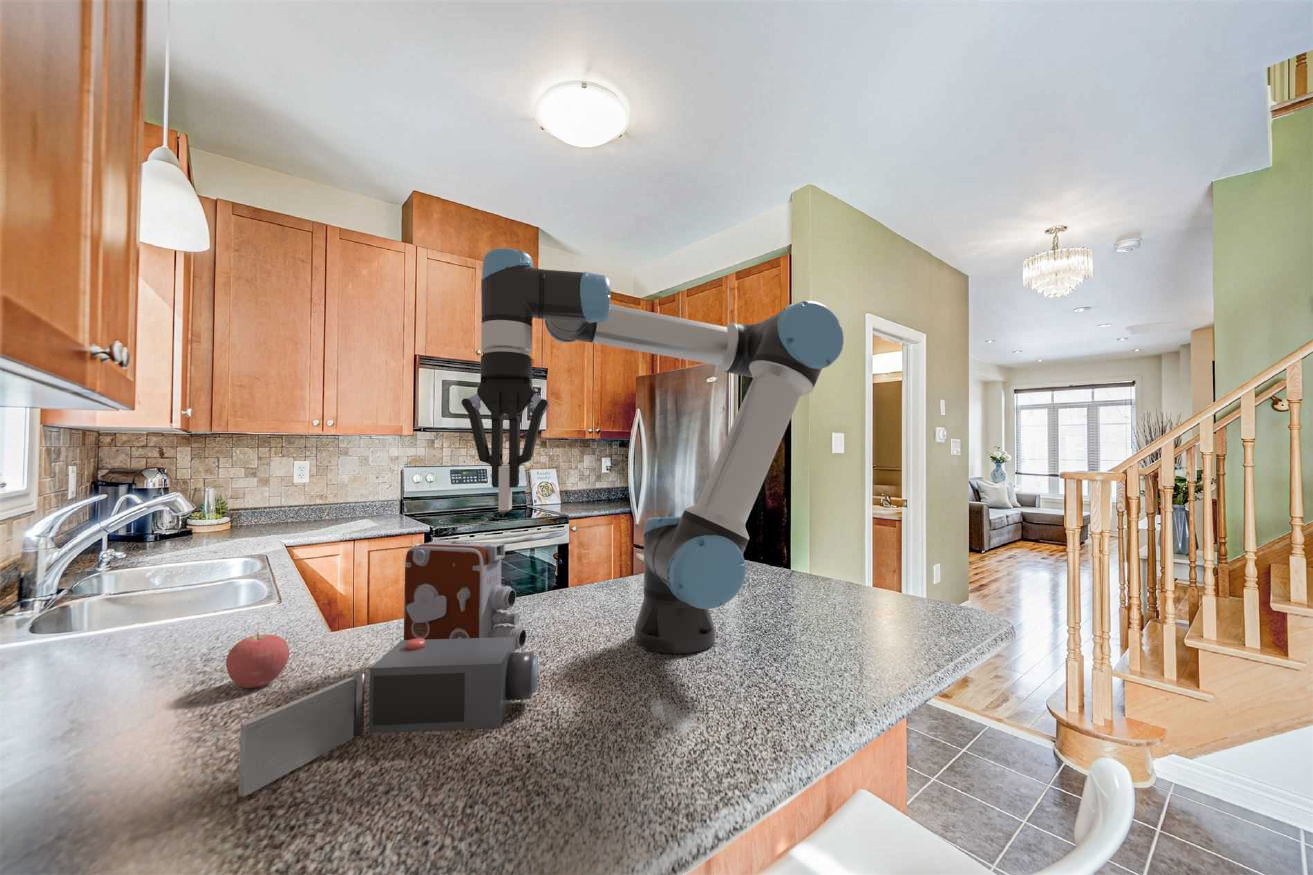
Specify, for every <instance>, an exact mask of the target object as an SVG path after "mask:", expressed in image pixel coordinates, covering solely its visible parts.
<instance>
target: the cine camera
mask: <svg viewBox="0 0 1313 875" xmlns="http://www.w3.org/2000/svg"><path fill="white" fill-rule="evenodd" d="M505 551H506V543H505V542H502V543H500V542H498V543H497V542H485V541H482V542H480V541H458V540H433V541H429V542H425V543H421V544H418V545H414V546H412V547H410V548H408V550H407V552H406V554H405V560H404V587H403V588H404V589H403V590H404V592H403V593H404V594H403V595H404V597H403V599H404V600H403V605H404V606H403V640H411V639H416V638H422V639H425V640H429V639H463V638H497V637H515V650H520V649H523V648H524V647H525V645H526V642H527V630H526V629H525V628H523V627H520V626H519V627H518V626H517V625H518V624H519V621H520V614H519V613H516V612H511V613H509V612H508V613H507V612H502V611H508V610H510V609H511V608H513V607H514V606H515V603H516V598H517V593H516V591H515V589H513V588H512V587H511V586H510V585H505V586H503V585H502V559H504V558H506V557H505V556H506V552H505ZM501 610H502V611H501ZM506 624H507V625H506ZM508 624H509V625H508Z"/></svg>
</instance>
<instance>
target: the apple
mask: <svg viewBox="0 0 1313 875" xmlns="http://www.w3.org/2000/svg"><path fill="white" fill-rule="evenodd" d="M256 632H257V633H256V634H257V635H256V634H255V635H252V636H251V635H250V636H249V637H246V638H243V639H242V640H240V641H238V642H237V643H236V644H234V646H233V647H232V648H231V649H230V650H229V652H228V654H227V656H226V660H225V663H226V664H225V665H226V671H227V673H228V677H229V678H230V680H231V681H232V682H233V683H234V684H235V685H237V686H239V687H241V688H245V689H254V688H259V687H263V686H266V685H268V684H271V682H272V681H274V680H276V678H277V677H279V675H280V674H281V673H282V671H283V670H284V669H285V667H286V665H287V663H288V661H289V659H290V648H289V645H288V643H287V642H286V640H285V639H284V638H283V637H281V636H279V635H275V634H259V630H258V631H256Z"/></svg>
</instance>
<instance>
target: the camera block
mask: <svg viewBox="0 0 1313 875" xmlns="http://www.w3.org/2000/svg"><path fill="white" fill-rule="evenodd" d="M538 680H539V660H538V658H537V657H535V652H534V651H527V652H526V651H522V652H521V651H520V652H516V649H515V637H497V638H463V639H429V640H425V639H422V638H416V639H411V640H404V639H403V640H400V641H399V642H398V643H396V644H395V645H394V646H393V647H392V648H391V649H389V651H388V652H386V653H385V654H384V655H383V656H382V657H381V658H379V660H377V661H376V662H375V663H374V664H373V665H371V666H370V668H369V691H368V692H369V693H368V695H369V696H368V697H369V698H368V699H369V700H368V734H369V735H370V734H389V733H408V732H409V733H411V732H430V731H431V732H432V731H433V732H435V731H453V730H455V731H456V730H457V731H458V730H475V729H476V730H480V729H498V728H499V729H500V728H502V725H503V722H504V719H505V717H506V715H507V712H508V710H509V708H510V705H511V702H512V701H521V700H522V701H525V700H531V699H532V696H533V693H534V694H535V693H537V689H538V688H537V687H538Z"/></svg>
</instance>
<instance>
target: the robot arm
mask: <svg viewBox="0 0 1313 875" xmlns="http://www.w3.org/2000/svg"><path fill="white" fill-rule="evenodd" d="M481 274H482V275H481V280H480V281H481V282H480V283H481V285H480V286H481V289H480V290H481V294H480V295H481V296H480V297H481V303H480V304H481V306H480V307H481V308H480V310H481V329H480V330H481V331H480V333H481V334H480V350H481V351H483V354H482V355H481V356H480V383H479V385H478V387H477V389H476V393H474V394H473V395H471V396H470V397H468V398H465V397H464V398H463V399H462V400H461V406H462V407H463V408H464V409H465V411H466V413H467V414H468V418H469V423H470V426H471V431H472V436H473V439H474V444H475V448H476V452H477V456H478V460H479V461H480V462H482V463H485V464H487V465H490V467H491V486H492V488H497V489H498V501H497V503H498V504H497V505H498V506H497V509H498V510H497V511H499V512H500V511H501V512H502V511H510V510H512V509H513V488H518V487H519V484H520V467H521V465H522V464H525V463H528V462H531V460H532V458H533V454H534V451H535V447H536V442H537V438H538V435H539V430H540V426H541V423H542V419H543V416H544V414H545V413H546V411H547V409H548V408H549V407H550V402H549V401H548V400H546V399H545V398H541V397H540V396H539V395H538V394H536V389H535V387H534V386H533V358H532V356H530V354H531V353H532V352H533V319H534V318H535V319H539V320H542V319H543V320H544V324H545V329H546V331H547V332H548V334H549V335H550V337H551V338H553V339H554V341H555V340H556V341H557V342H560V343H564V344H565V343H567V344H568V343H572V342H575V341H580V342H585V343H590V344H591V343H592V344H596V345H597V344H598V345H603V346H609V347H614V348H620V349H623V350H624V349H626V350H631V351H637V352H641V353H649V354H651V355H652V354H654V355H658V356H664V357H669V358H675V359H681V360H686V361H691V362H698V363H702V364H708V365H714V366H717V368H718V370H720V372H724V373H728V374H734V375H737V376H743V377H744V376H745V377H747V378H748V377H749V378H752V381H751V382H750V385H749V387H748V389H747V392H746V393H745V396H744V398H743V401H742V402H741V404H740V406H739V409H738V411H737V414H736V416H735V418H734V421H733V422H732V424H731V427H730V429H729V431H728V434H727V435H726V438H725V441H724V443H723V446H722V447H721V449H720V451H719V454H718V457H717V458H716V461H715V463H714V466H713V468H712V470H711V472H710V475H709V477H708V478H707V480H706V483H705V486H704V487H703V490H702V492H701V495H700V497H699V499H698V501H697V503H695V504H693V505H691V506H688V507H686V508H684V511H683V512H682V514H681V516H665V517H664V516H663V517H661V516H660V517H649V518H647V519H646V520H645V522H644V528H643V533H642V538H643V601H642V603H641V606H640V610H639V612H638V616H637V619H636V622H635V625H634V642H635V644H636V645H638V646H639V647H640V648H642V649H645V650H647V651H651V652H655V653H660V654H661V653H662V654H671V655H672V654H675V655H676V654H690V653H691V654H692V653H697V652H702V651H705V650H707V649H709V648H711V647H712V646H713V645H715V642H716V627H715V624H714V621H713V618H712V615H711V614H712V613H711V612H710V610H713V609H717V608H719V607H721V606H724V605H726V604H727V603H729V602H730V601H732V600H733V599H734V598H735V597H736V596H737V595H738V594H739V593H740V590H741V589H742V587H743V585H744V583H745V580H746V573H747V566H746V562H745V557H744V552H745V551H746V547H747V545H748V544H749V540H750V536H749V533H748V531H747V528H746V523H747V521H748V519H749V516H750V513H751V511H752V510H753V507H754V505H755V502H756V500H757V498H758V496H759V493H760V491H761V488H762V486H763V485H764V484H763V483H764V481H765V479H766V477H767V475H768V472H769V470H770V468H771V465H772V463H773V461H774V457H775V456H776V454H777V451H778V449H779V446H780V444H781V442H782V441H783V440H782V439H783V437H784V436H785V433H786V430H787V428H788V426H789V424H790V421H791V419H792V416H793V413H794V411H795V409H796V407H797V406H798V405H797V404H798V402H799V399H800V398H801V397H804V396H806V395H807V396H808V395H809V394H811V393H812V392H813V391H814V388H815V386H816V384H817V381H818V379H819V377H820V374H821V372H822V370H823V369H824V368H828V367H830V366H831V365H832V364H833V363H834V362H835V361H837V359H838V358H839V357H840V355H841V353H842V351H843V348H844V341H845V340H844V333H843V332H844V331H843V328H842V327H841V325H840V323H839V322H840V321H839V319H838V317H837V316H836V314H835V313H834V312H833V311H832V310H831V309H830V308H829V307H827V306H826V305H824V304H823V303H820V302H817V301H815V300H803V301H799V302H797V303H792V304H789V305H787V306H785V307H784V308H783V309H782V310H781V311H780V312H778V313H776V314H773V315H772V316H771V317H768V318H767V319H765V320H763V321H760V322H758V323H757V322H756V323H752V324H741V323H734V322H730V323H728V324H727V325H725V326H724V325H723V326H722V325H718V324H713V323H707V322H704V321H698V320H691V319H687V318H682V317H679V316H678V317H676V316H672V315H667V314H663V313H657V312H651V311H647V310H641V309H636V308H631V307H626V306H621V305H616V304H611V294H612V292H611V290H612V289H611V282H610V279H609V278H608V277H607V276H606V275H604V274H598V273H592V272H589V271H584V272H581V271H569V270H555V269H544V268H542V269H541V268H538V267H535V265H534V261H533V258H532V257H531V255H530V254H528V253H527V252H525V251H522V250H516V249H515V248H511V247H510V248H509V247H501V248H494V249H492V250H489V251H488V252H486V254H485V255H484V257H483V260H482V271H481ZM531 401H532V404H531V408H532V409H533V411H532V413H531V417H530V421H529V425H528V429H527V432H526V437H525V440H524V444H523V449H522V452H521V417H522V416H521V415H522V414H523V412H524V411H525V410H526V408H527V407H528V406H529V404H530V403H531ZM481 402H482V403H483V404H484V406H485V407H486V408H487V411H488V412H489V413H490V420H491V440H490V441H491V443H490V446H491V447H490V448H491V449H489V446H488V444H489V443H488V440H487V436H486V433H485V427H484V424H483V418H482V415H481V413H480V412H481V411H480V409H481V407H482V406H481ZM506 415H508V422H509V423H508V462H507V464H508V465H509V466H507V465H505V466H503V464H504V459H503V457H504V456H503V454H504V453H503V452H504V451H503V450H504V449H503V448H504V445H503V444H504V421H505V420H504V418H505V416H506ZM490 450H491V451H490ZM490 452H491V454H490Z"/></svg>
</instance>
